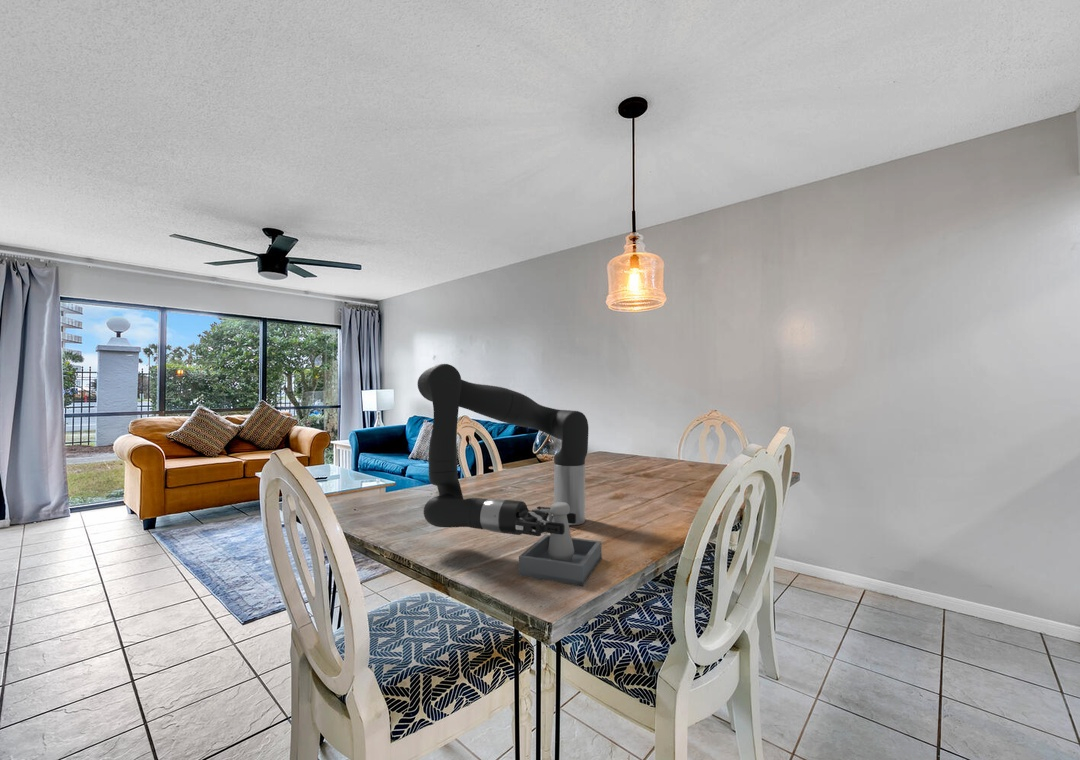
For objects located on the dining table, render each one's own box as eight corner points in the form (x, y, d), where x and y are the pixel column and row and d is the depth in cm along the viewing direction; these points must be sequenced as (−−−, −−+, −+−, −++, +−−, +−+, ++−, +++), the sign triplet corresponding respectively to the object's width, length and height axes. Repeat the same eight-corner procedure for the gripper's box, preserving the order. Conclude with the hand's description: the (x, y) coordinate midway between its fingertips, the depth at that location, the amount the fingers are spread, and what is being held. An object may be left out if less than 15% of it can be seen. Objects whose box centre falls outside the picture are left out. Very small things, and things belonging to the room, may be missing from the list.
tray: (545, 550, 110) (545, 534, 110) (601, 558, 105) (601, 541, 105) (518, 575, 95) (518, 556, 95) (582, 586, 90) (582, 566, 90)
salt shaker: (559, 555, 104) (557, 498, 104) (579, 560, 100) (578, 502, 101) (543, 563, 99) (541, 503, 100) (563, 569, 96) (562, 507, 96)
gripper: (490, 507, 99) (560, 514, 93) (516, 493, 112) (579, 499, 106) (489, 541, 98) (560, 551, 93) (516, 524, 112) (579, 531, 106)
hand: (570, 523), depth 99 cm, fingers open, 8 cm apart
